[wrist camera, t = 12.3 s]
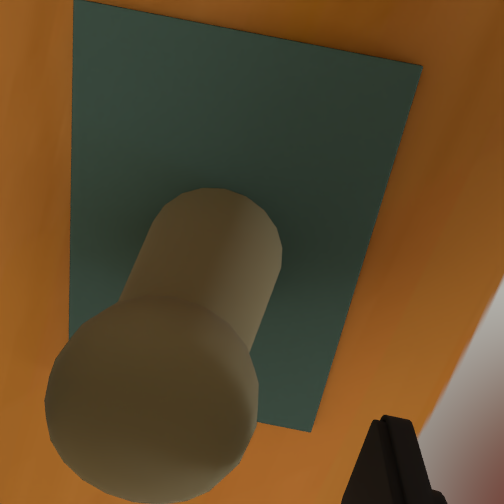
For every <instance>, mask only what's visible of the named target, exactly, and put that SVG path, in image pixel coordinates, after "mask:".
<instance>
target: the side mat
mask: <svg viewBox="0 0 504 504" xmlns="http://www.w3.org/2000/svg"><path fill="white" fill-rule="evenodd" d="M422 69H423V66H421V65H416V64H411V63H405V62H400V61H395V60H390V59H385V58H380V57H374V56H369V55H364V54H359V53H354V52H349V51H343V50H338V49H333V48H328V47H323V46H318V45H312V44H307V43H302V42H297V41H292V40H287V39H281V38H276V37H271V36H266V35H261V34H256V33H250V32H245V31H240V30H235V29H230V28H225V27H220V26H214V25H209V24H204V23H199V22H194V21H189V20H183V19H178V18H173V17H168V16H163V15H158V14H152V13H147V12H142V11H137V10H132V9H127V8H121V7H116V6H111V5H106V4H101V3H96V2H90V1H85V0H74V7H73V78H72V149H71V220H70V291H69V340H70V338H71V337H72V336H73V335H74V333H75V332H76V331H77V330H78V329H79V327H80V326H81V325H82V324H83V323H85V322H86V321H88V320H89V319H91V318H92V317H94V316H96V315H97V314H99V313H100V312H102V311H104V310H105V309H107V308H108V307H110V306H112V305H114V304H115V303H117V302H118V300H119V298H120V296H121V293H122V291H123V289H124V287H125V284H126V282H127V280H128V277H129V275H130V273H131V270H132V268H133V266H134V264H135V261H136V259H137V257H138V254H139V252H140V250H141V248H142V245H143V243H144V241H145V238H146V236H147V234H148V232H149V229H150V227H151V225H152V222H153V221H154V219H155V218H156V216H157V215H158V214H159V212H160V211H161V209H162V208H163V207H164V205H166V204H167V203H169V202H170V201H172V200H173V199H174V198H176V197H177V196H179V195H180V194H182V193H185V192H189V191H193V190H196V189H200V188H219V189H227V190H230V191H232V192H235V193H238V194H241V195H243V196H246V197H248V198H249V199H250V200H252V201H253V202H254V203H255V204H257V205H258V206H259V207H261V208H262V209H263V210H264V211H265V212H266V213H267V215H268V216H269V218H270V219H271V221H272V222H273V224H274V225H275V226H276V228H277V231H278V235H279V238H280V242H281V245H282V262H281V269H280V272H279V275H278V277H277V280H276V283H275V285H274V288H273V291H272V294H271V296H270V299H269V302H268V304H267V307H266V310H265V312H264V315H263V318H262V320H261V323H260V326H259V328H258V331H257V334H256V336H255V339H254V342H253V344H252V347H251V350H250V352H249V354H250V357H251V360H252V363H253V366H254V369H255V372H256V376H257V379H258V383H259V389H258V412H257V422H261V423H266V424H271V425H276V426H281V427H286V428H291V429H296V430H301V431H306V432H311V430H312V427H313V424H314V420H315V417H316V414H317V411H318V407H319V404H320V401H321V398H322V394H323V391H324V388H325V385H326V381H327V378H328V375H329V372H330V368H331V365H332V362H333V359H334V355H335V352H336V349H337V346H338V342H339V339H340V336H341V332H342V329H343V326H344V323H345V319H346V316H347V313H348V310H349V306H350V303H351V300H352V297H353V293H354V290H355V287H356V284H357V280H358V277H359V274H360V271H361V267H362V264H363V261H364V258H365V254H366V251H367V248H368V245H369V241H370V238H371V235H372V232H373V228H374V225H375V222H376V218H377V215H378V212H379V209H380V205H381V202H382V199H383V196H384V192H385V189H386V186H387V183H388V179H389V176H390V173H391V170H392V166H393V163H394V160H395V157H396V153H397V150H398V147H399V144H400V140H401V137H402V134H403V131H404V127H405V124H406V121H407V118H408V114H409V111H410V108H411V104H412V101H413V98H414V95H415V91H416V88H417V85H418V82H419V78H420V75H421V72H422Z"/></svg>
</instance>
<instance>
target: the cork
mask: <svg viewBox="0 0 504 504" xmlns="http://www.w3.org/2000/svg"><path fill="white" fill-rule="evenodd" d="M281 262H282V245H281V242H280V238H279V235H278V231H277V228H276V226H275V225H274V224H273V222H272V221H271V219H270V218H269V216H268V215H267V213H266V212H265V211H264V210H263V209H262V208H261V207H259V206H258V205H257V204H255V203H254V202H253V201H252V200H250V199H249V198H248V197H246V196H243V195H241V194H238V193H235V192H232V191H230V190H227V189H219V188H200V189H196V190H193V191H189V192H185V193H182V194H180V195H179V196H177V197H176V198H174V199H173V200H172V201H170V202H169V203H167V204H166V205H164V207H163V208H162V209H161V211H160V212H159V214H158V215H157V216H156V218H155V219H154V221H153V222H152V225H151V227H150V229H149V232H148V234H147V236H146V238H145V241H144V243H143V245H142V248H141V250H140V252H139V254H138V257H137V259H136V261H135V264H134V266H133V268H132V270H131V273H130V275H129V277H128V280H127V282H126V284H125V287H124V289H123V291H122V293H121V296H120V298H119V300H118V302H117V303H115V304H114V305H112V306H110V307H108V308H107V309H105V310H104V311H102V312H100V313H99V314H97V315H96V316H94V317H92V318H91V319H89V320H88V321H86V322H85V323H83V324H82V325H81V326H80V327H79V329H78V330H77V331H76V332H75V333H74V335H73V336H72V337H71V338H70V340H69V341H68V342H67V344H66V345H65V347H64V348H63V349H62V351H61V352H60V354H59V355H58V356H57V358H56V359H55V362H54V365H53V368H52V370H51V373H50V376H49V381H48V385H47V390H46V395H45V400H44V401H45V412H46V420H47V425H48V430H49V435H50V440H51V442H52V443H53V445H54V447H55V448H56V450H57V452H58V453H59V455H60V457H61V458H62V460H63V462H64V463H65V464H67V465H68V466H69V467H70V468H71V469H72V470H73V471H74V472H75V473H76V474H77V475H78V476H79V477H80V478H81V479H82V480H84V481H86V482H87V483H89V484H91V485H93V486H94V487H96V488H98V489H100V490H101V491H103V492H105V493H107V494H110V495H113V496H116V497H119V498H122V499H125V500H129V501H132V502H139V503H149V504H168V503H176V502H183V501H188V500H190V499H192V498H195V497H197V496H199V495H202V494H204V493H206V492H208V491H210V490H211V489H212V488H213V487H214V486H215V485H217V484H218V483H219V482H220V481H221V480H222V479H223V478H224V477H225V476H226V475H227V474H229V473H230V472H231V471H232V470H233V469H234V468H235V467H236V466H237V465H238V464H239V463H240V461H241V458H242V456H243V454H244V452H245V450H246V448H247V446H248V444H249V442H250V439H251V437H252V435H253V433H254V430H255V428H256V425H257V412H258V389H259V383H258V379H257V376H256V372H255V369H254V366H253V363H252V360H251V357H250V354H249V352H250V350H251V347H252V344H253V342H254V339H255V336H256V334H257V331H258V328H259V326H260V323H261V320H262V318H263V315H264V312H265V310H266V307H267V304H268V302H269V299H270V296H271V294H272V291H273V288H274V285H275V283H276V280H277V277H278V275H279V272H280V269H281Z"/></svg>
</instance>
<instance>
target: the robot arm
mask: <svg viewBox="0 0 504 504" xmlns="http://www.w3.org/2000/svg"><path fill="white" fill-rule="evenodd" d="M341 504H447V502H446V500H445V497H444V496H443V495H442V493H441V492H439V491H436V490H432V489H431V485H430V482H429V479H428V475H427V472H426V468H425V465H424V461H423V458H422V455H421V451H420V448H419V444H418V441H417V438H416V434H415V431H414V427H413V425H412V422H411V421H410V420H407V419H402V418H398V417H393V416H388V415H383V416H382V417H381V419H380V421H379V420H373V421H372V423H371V426H370V428H369V431H368V433H367V436H366V439H365V441H364V444H363V446H362V449H361V451H360V454H359V457H358V459H357V462H356V464H355V467H354V469H353V472H352V475H351V477H350V480H349V482H348V485H347V488H346V490H345V493H344V495H343V498H342V502H341Z"/></svg>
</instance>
